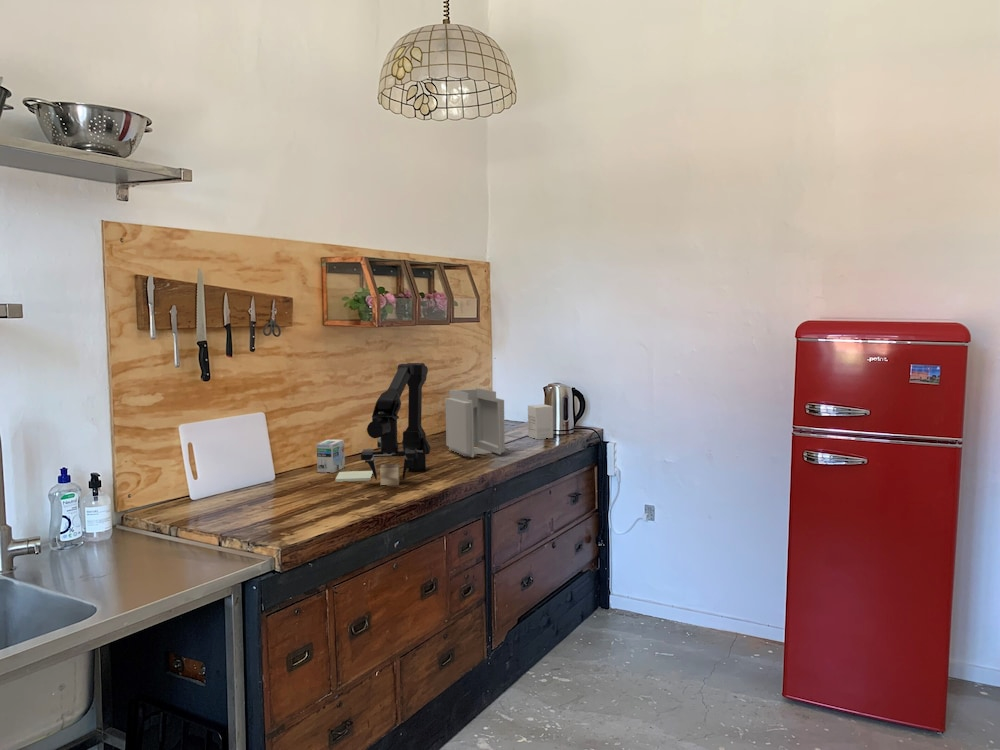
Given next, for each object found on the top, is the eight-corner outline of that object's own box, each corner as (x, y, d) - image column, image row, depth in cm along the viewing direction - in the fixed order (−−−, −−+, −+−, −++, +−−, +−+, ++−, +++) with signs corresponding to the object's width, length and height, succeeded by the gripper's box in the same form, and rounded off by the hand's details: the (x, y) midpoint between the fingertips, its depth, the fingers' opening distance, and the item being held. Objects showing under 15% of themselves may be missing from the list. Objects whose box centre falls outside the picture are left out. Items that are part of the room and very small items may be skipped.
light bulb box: (333, 473, 269) (332, 444, 268) (316, 472, 270) (315, 443, 269) (345, 467, 279) (344, 439, 278) (329, 466, 281) (328, 438, 280)
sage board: (373, 473, 267) (372, 470, 267) (370, 480, 255) (370, 477, 255) (339, 474, 266) (339, 471, 266) (335, 481, 254) (335, 479, 254)
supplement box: (544, 435, 347) (544, 404, 346) (553, 438, 339) (553, 406, 337) (527, 437, 343) (527, 405, 342) (536, 439, 335) (535, 407, 334)
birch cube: (399, 481, 254) (398, 464, 254) (398, 485, 248) (398, 467, 248) (381, 481, 254) (381, 464, 253) (380, 485, 248) (380, 468, 247)
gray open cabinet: (478, 446, 320) (477, 386, 318) (506, 456, 297) (505, 392, 295) (442, 449, 313) (440, 389, 311) (467, 460, 289) (466, 394, 287)
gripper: (416, 429, 259) (417, 472, 260) (363, 430, 257) (364, 474, 258) (416, 434, 248) (417, 479, 249) (360, 435, 246) (361, 481, 247)
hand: (389, 478), depth 251 cm, fingers open, 9 cm apart
